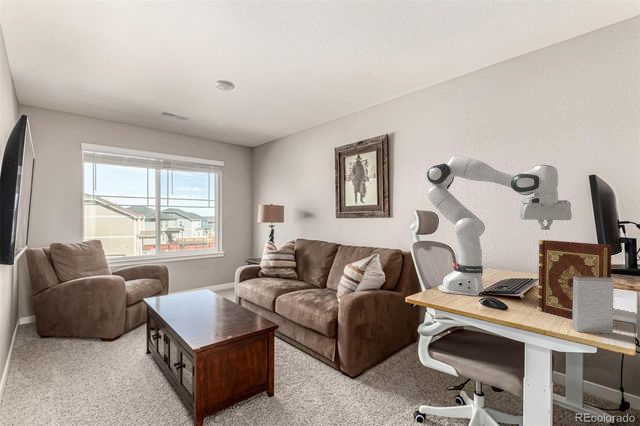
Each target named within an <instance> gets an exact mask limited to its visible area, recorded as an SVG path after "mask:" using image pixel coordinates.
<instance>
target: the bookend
mask: <svg viewBox="0 0 640 426" xmlns="http://www.w3.org/2000/svg"><path fill="white" fill-rule="evenodd" d="M614 281H615V279H614V278H612V277H611V278H609V277H590V276H573V319H572V328H571V329H572V330H574V331H575V332H578V333H579V332H580V333H594V334H605V333H611V334H610V335H613V333H614V287H615V286H614V283H615V282H614Z"/></svg>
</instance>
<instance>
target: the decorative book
mask: <svg viewBox="0 0 640 426" xmlns="http://www.w3.org/2000/svg"><path fill="white" fill-rule="evenodd" d="M537 244H538V253H537V256H538V263H537V266H538V284H537V288H538V289H537V290H538V293H537V295H536V297H537V298H538V299H537V300H538V301H537V303H538V305H537V306H536V307H537V308H536V309H537V311H539V312H544V313H547V314H551V315H555V316H558V317H563V318H566V319H570V320H573V276H590V277H609V278H612V245H611V244H604V243H603V244H602V243H591V242H589V243H587V242H576V241H575V242H574V241H562V240H551V239H540V240H538V241H537Z"/></svg>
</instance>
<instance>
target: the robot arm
mask: <svg viewBox="0 0 640 426" xmlns="http://www.w3.org/2000/svg"><path fill="white" fill-rule="evenodd" d="M455 177H459V178H462V179H466V180H469V181H476V182H489V183H494V184H498V185H500V186H501V185H502V186H505V187H508V188H511V189H512V190H513V191H515V192H516V193H518V194H519V195H522V196H530V195H532V194H534V195H533V196H531V197H528V198H523V199H522V202H521V203H522V205H521V207H520V213H519V214H520V215H519V218H520V219H521V220H527V221H528V220H529V221H530V220H531V221H533V220H537V223H538V224H539V226H540V230H542V231H545V230H546V231H550V230H551V226H552V225H553V222H554V221H570V220H572V217H573V214H572V209H571V208H572V202H570V201H568V200H566V199H565V200H564V199H563V200H562V199H559V191H558V185H559V174H558V168H556V167H555V166H553V165H547V164H541V165H537V166H536V167H534V168H532V169H530V170H527V171H525V172H521V173H519V174H516V175H514V174H510V173H508V172H503V171H500V170H497V169H495V168H493V167H492V166H490V165H489V164H488V163H485V162H484V161H481V160H478V159H476V158H473V157H472V158H471V157H466V156H457V155H456V156H453V157H451V158H450V159H449V160H448V162H447V163H440V164H436V165H432V166H431V167H430V168H428V170H427V173H426V178H427V181H429V183H430V184H432V185H431V188H429V189H428V191H427V197H428V199H429V200H430V201H429V202H431V204H432V205H433V206H434V207H435V209H437V210H438V211H439V213H441V215H442V216H443V217H444V218H445V219H446V220H448V221H449V222H451V224H453V225H454V232H455V235H456V241H457V248H458V249H457V251H458V258H457V259H458V263H451V267H452V268H454V270H453V271H452V272H450V273H448V274H447V275H446V276H444V277H443V280H442V284H439V285H438V286H437V289H438V290H439V291H440V292H442V293H446V294H453V295H463V296H464V295H465V296H473V297H477V296H480V295H479V293H480V292H483V291H485V289H484V284H483V275H484V274H483V273H484V269H483V267H484V266H483V263H482V261H483V259H482V258H483V256H482V255H483V250H482V246H481V241H480V237H481V236H482V235H483V234H484V232H485V230H486V225H485V223H484V221H483V220H481V219H480V218H479V217H478V216H477V215H475V214H474V213H473V212H472V211H470V210H469V209H468V208H467V207H466V206H464V205H463V204H462V203H461V202H460V201H459V200H458V199H457V197H455V196H454V195H453V194H452V192H450V191H449V188H450V187H451V186H452V184H453V182H454V180H455ZM545 221H546V225H545V224H544V222H545Z"/></svg>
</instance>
